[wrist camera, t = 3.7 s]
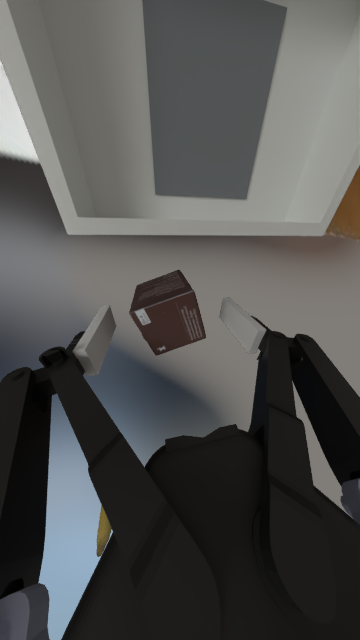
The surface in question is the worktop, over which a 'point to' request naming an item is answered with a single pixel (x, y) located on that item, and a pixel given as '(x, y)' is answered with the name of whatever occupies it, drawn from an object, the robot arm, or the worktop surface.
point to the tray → (189, 111)
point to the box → (167, 313)
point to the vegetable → (103, 532)
